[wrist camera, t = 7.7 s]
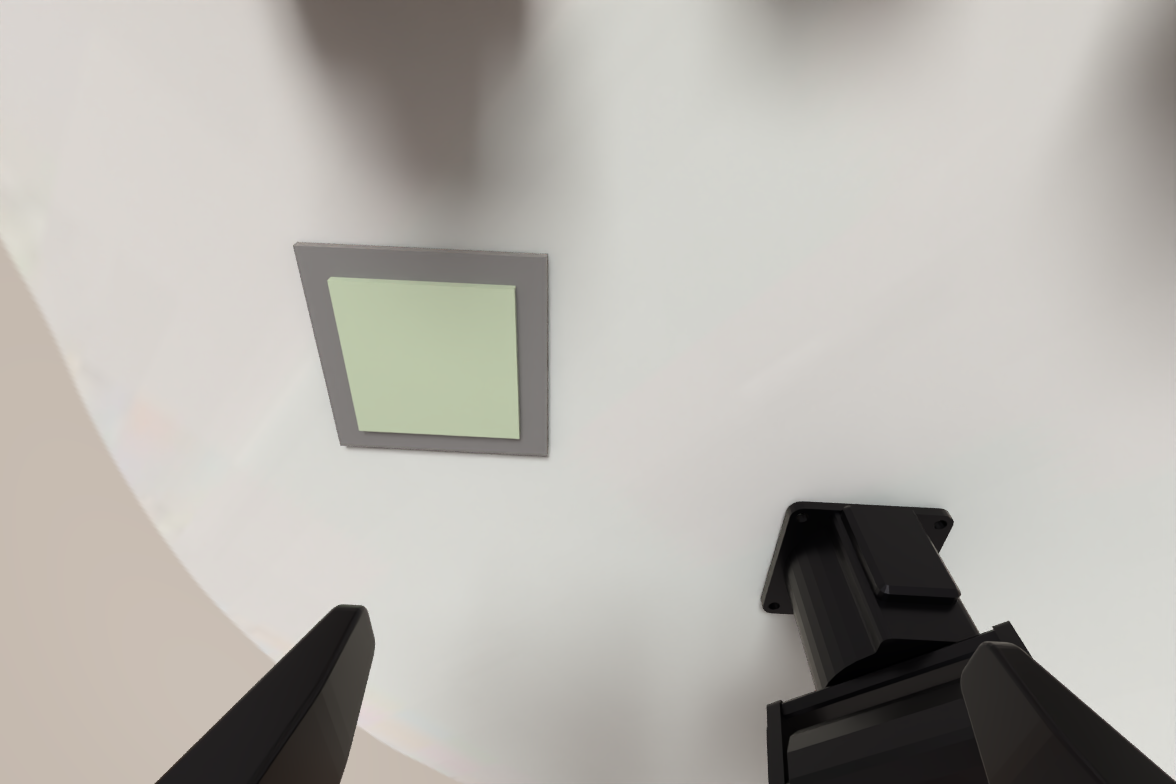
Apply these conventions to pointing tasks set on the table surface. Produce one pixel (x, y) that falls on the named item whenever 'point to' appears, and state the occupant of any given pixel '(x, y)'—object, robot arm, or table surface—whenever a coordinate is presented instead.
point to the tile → (431, 345)
